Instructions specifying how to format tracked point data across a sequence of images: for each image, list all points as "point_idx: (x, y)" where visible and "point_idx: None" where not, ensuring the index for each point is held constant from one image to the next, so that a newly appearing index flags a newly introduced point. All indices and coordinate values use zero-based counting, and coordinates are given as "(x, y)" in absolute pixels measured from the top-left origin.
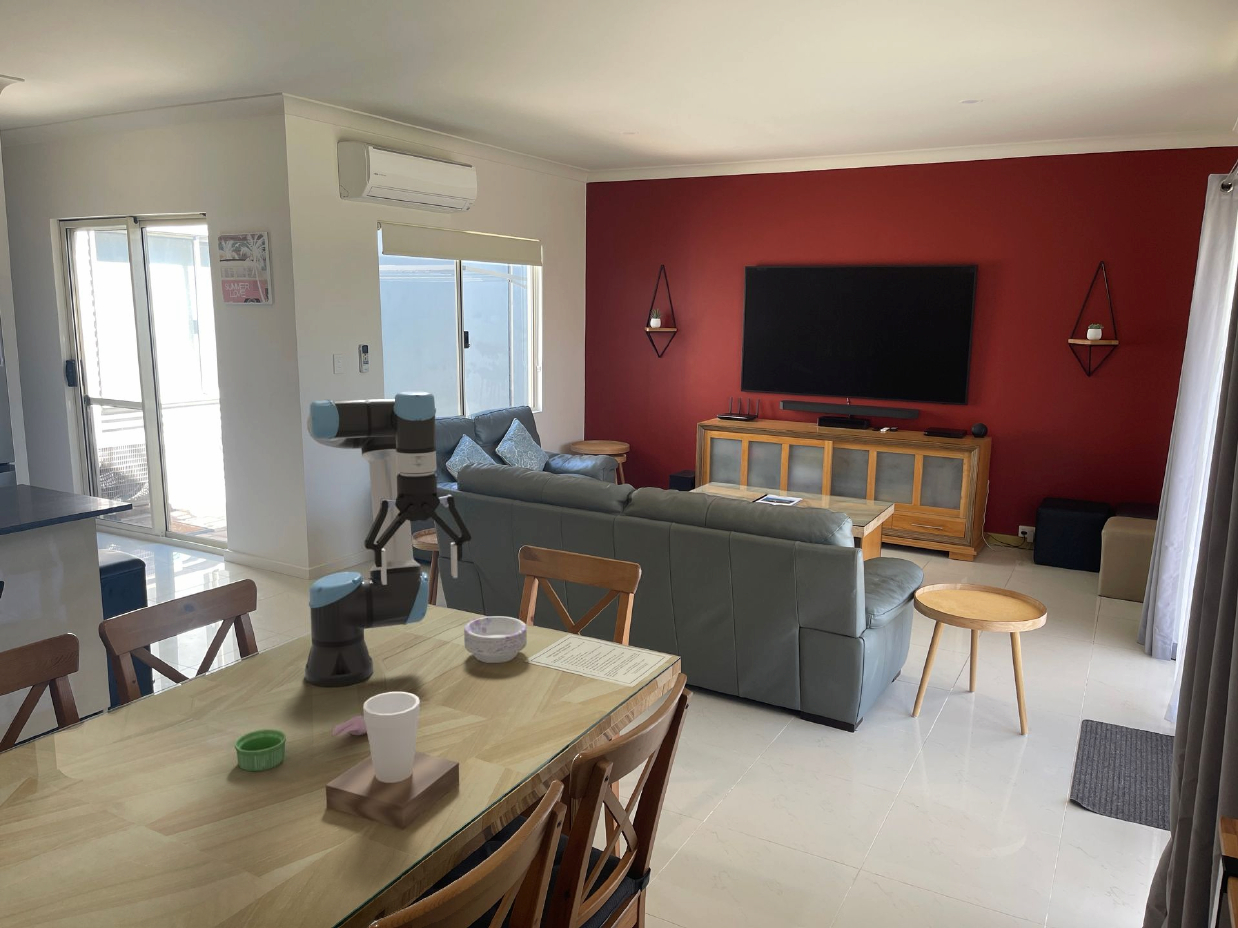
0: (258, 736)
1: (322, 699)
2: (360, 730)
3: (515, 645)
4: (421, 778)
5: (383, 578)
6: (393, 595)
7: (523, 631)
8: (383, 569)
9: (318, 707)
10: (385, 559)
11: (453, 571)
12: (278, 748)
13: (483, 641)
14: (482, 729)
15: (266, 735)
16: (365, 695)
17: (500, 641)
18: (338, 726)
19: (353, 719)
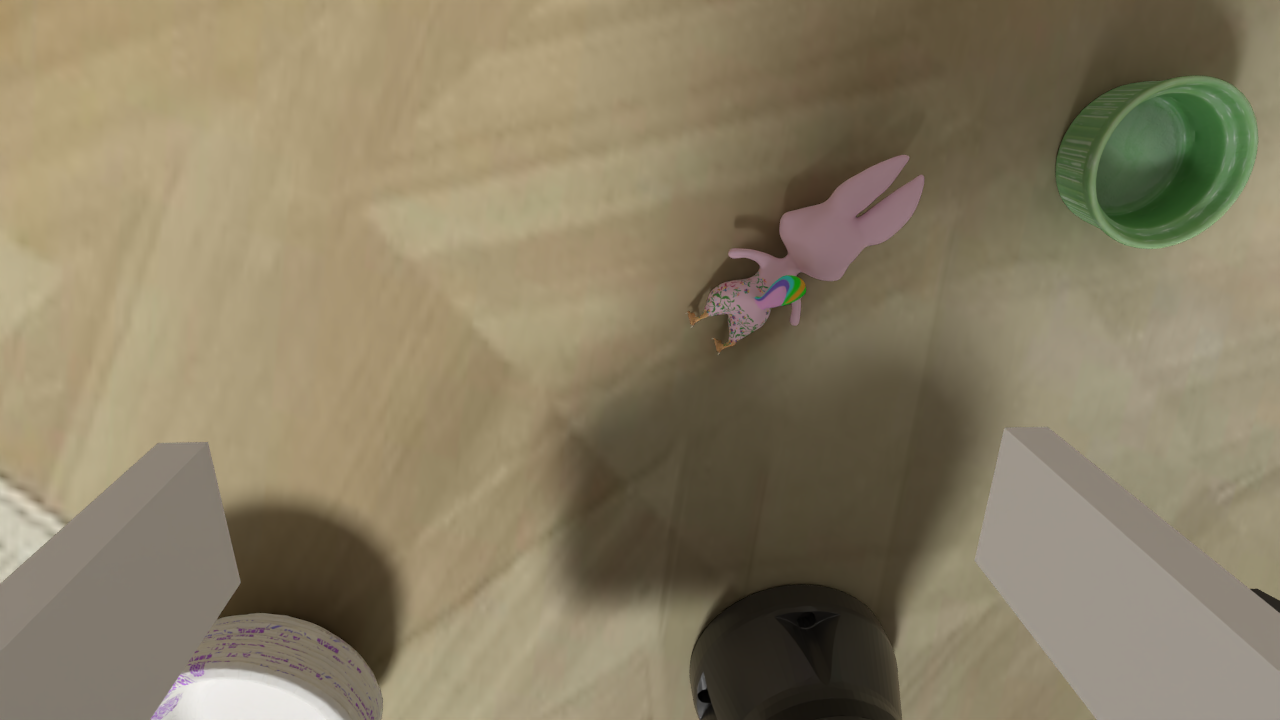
0: (1150, 230)
1: (866, 515)
2: (819, 204)
3: None
4: None
5: (1084, 462)
6: None
7: None
8: (1161, 536)
9: (888, 466)
10: (1256, 645)
11: (165, 496)
12: (1123, 102)
13: (302, 669)
14: (388, 125)
15: (1127, 228)
16: (740, 506)
17: (233, 655)
18: (902, 209)
19: (847, 237)
